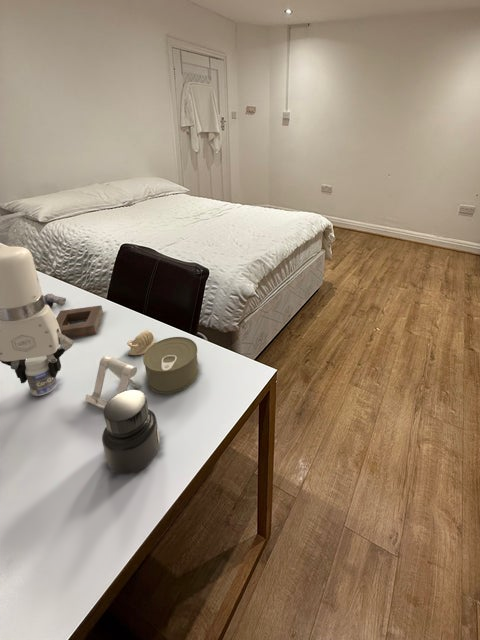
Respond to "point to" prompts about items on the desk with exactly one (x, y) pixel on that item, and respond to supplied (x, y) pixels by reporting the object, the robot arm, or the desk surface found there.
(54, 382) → the pill bottle
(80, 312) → the holder
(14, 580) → the desk surface
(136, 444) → the ink bottle
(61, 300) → the seashell
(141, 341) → the decorative ornament
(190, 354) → the can
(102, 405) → the tablet stand
